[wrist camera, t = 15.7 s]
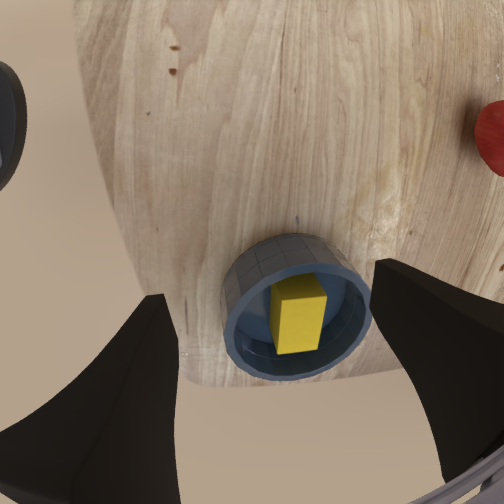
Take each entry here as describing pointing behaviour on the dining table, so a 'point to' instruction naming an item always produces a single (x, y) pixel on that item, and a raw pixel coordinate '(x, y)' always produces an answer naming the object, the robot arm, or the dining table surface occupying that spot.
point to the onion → (491, 136)
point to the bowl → (259, 297)
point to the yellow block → (297, 313)
